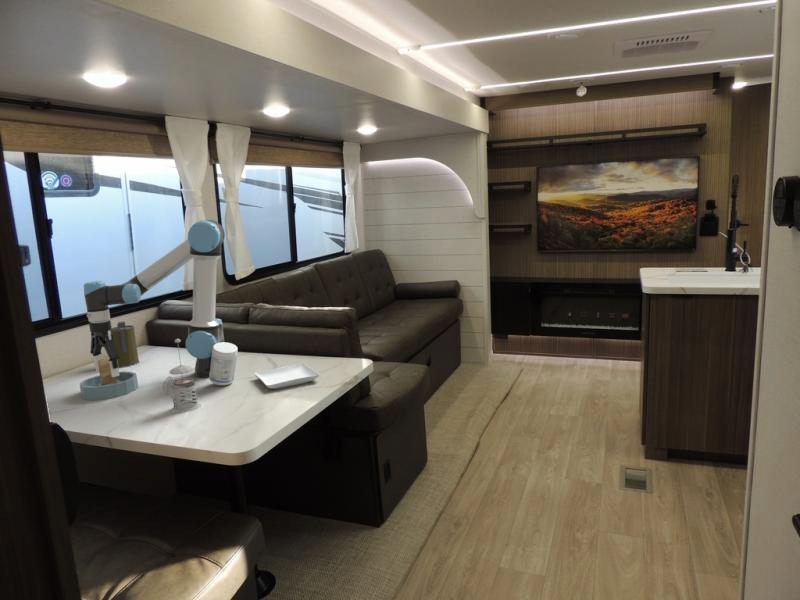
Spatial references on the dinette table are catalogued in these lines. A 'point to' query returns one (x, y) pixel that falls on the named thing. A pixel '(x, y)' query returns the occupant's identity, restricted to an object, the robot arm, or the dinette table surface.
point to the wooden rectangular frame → (105, 372)
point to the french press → (187, 385)
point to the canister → (125, 344)
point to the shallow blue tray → (108, 387)
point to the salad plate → (287, 376)
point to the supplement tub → (223, 363)
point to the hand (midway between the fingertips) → (107, 373)
